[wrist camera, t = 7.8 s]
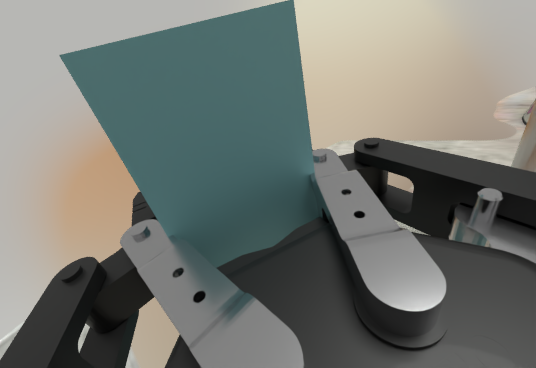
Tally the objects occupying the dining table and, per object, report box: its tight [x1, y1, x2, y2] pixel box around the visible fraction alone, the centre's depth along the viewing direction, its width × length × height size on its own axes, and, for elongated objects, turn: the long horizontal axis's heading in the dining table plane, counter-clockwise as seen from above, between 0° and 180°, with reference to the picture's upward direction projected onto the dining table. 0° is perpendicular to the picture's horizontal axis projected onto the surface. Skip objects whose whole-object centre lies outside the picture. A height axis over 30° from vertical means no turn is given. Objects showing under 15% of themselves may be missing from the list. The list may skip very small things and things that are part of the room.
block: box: [60, 0, 319, 268], centre depth 11 cm, size 5×5×14 cm
